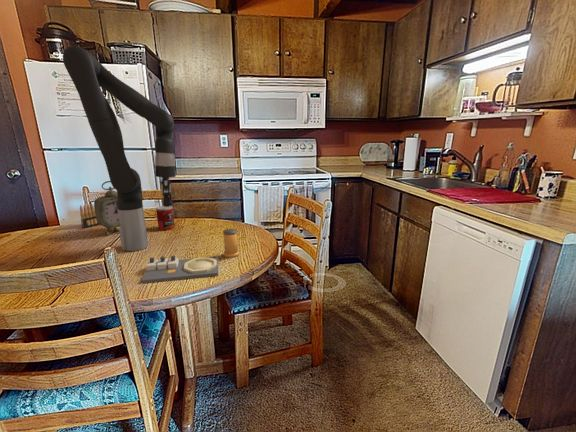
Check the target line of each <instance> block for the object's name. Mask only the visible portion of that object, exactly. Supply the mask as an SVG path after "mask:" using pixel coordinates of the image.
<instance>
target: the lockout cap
mask: <svg viewBox="0 0 576 432" xmlns="http://www.w3.org/2000/svg"><path fill="white" fill-rule="evenodd" d="M222 232H223V242H224V243H223V244H224V245H223V247H224V251H223V257H224V258H227V259H232V258H233V259H234V258H236V257H238V256H240V251H239V249H238V230H237V229H236V228H227V229H223V231H222Z"/></svg>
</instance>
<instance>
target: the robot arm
mask: <svg viewBox="0 0 576 432" xmlns="http://www.w3.org/2000/svg"><path fill="white" fill-rule="evenodd" d="M62 62H63V66H64V68H65V69H66V71H67V73H68V75H69V78H70V79H71V81H72V83H73V85H74V87H75V89H76V91H77V94H78V96H79V98H80V102H81V106H82V108H83V111H84V113H85V116H86V119H87V121H88V125H89V127H90V129H91V132H92V134H93V137H94V139H95V141H96V144H97V146H98V148H99V151H100V153H101V155H102V157H103V159H104V163H105V165H106V169H107V173H108V176H109V181H111V182H110V184H111V186H112V188H115V189H114V190H115V191H116V192H117V209H118V215H119V221H120V227H118V232H119V237H120V244H121V250H122V251H123V252H124V251H126V252H135V251H136V252H138V251H140V250H145V249H146V248H148V247H149V240H148V234H147V233H148V232H147V226H146V225H147V224H146V219H145V218H146V217H145V213H144V206H143V205H144V204H143V200H144V199H143V196H144V195H143V188H142V181H141V176H140V174H139V173H138V171H137V170H135V169H134V168H132V167H131V166H130V164H129V161H128V159H127V156H126V153H125V146H124V140H123V134H122V130H121V127H120V126H121V125H120V124H119V121H118V119H117V116H116V113H115V111H114V110H113V108H112V106H111V105H110V103H109V101H108V99H107V98H106V96H105V94H104V92H103V91H102V89H103V90H105V91H107V93H109V94H110V95H112V96H113V98H115V99H116V100H118V101H119V103H121V104H122V105H124V106H125V107H126V108H128V109H129V110H130V111H132V112H134V113H135V114H136V115H138V116H139V117H141V118H143V119H145V120H146V121H147V122H149V123H150V124H152V125H153V126H154V127H155V142H154V145H155V146H154V147H155V148H154V150H155V152H154V153H155V155H154V171H155V177H157V178H162V179H161V180H160V181H159V182H160V187H161V189H160V191H161V193H162V194H161V195H162V198H163V199H162V201H163V202H162V203H163V204H162V206H164V207H169V206H170V196H171V190H172V189H171V187H172V182H171V181H170V180H169V179H170V178H175V177H176V155H175V140H174V137H175V136H174V135H175V121H174V118H173V116H172V115H171V114H170V113H169V112H168V111H166V110H165V109H163V108H162V107H160V106H158V105H156V104H154V103H153V102H152V101H150V99H148V98H147V97H145V96H144V95H142V94H141V93H140V92H139V91H137V90H136V89H135V88H133V87H131V86H130V85H128V84H127V83H125V82H123V81H122V80H121V79H119V78H118V77H117V76H115V75H114V74H113V73H112V72H110V71H109V70H108V69H107V68H106V67H105V66H104V65H103V64H102V63H101V62H100V61H99V60H98V59H97V58H96V57H95V56H94V55H93V54H92V53H91V52H89V51H88V50H86V49H85V48H83V47H80V46H76V45H70V46H68V47H66V48H65V49H64V51H63V54H62ZM101 88H102V89H101Z"/></svg>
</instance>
